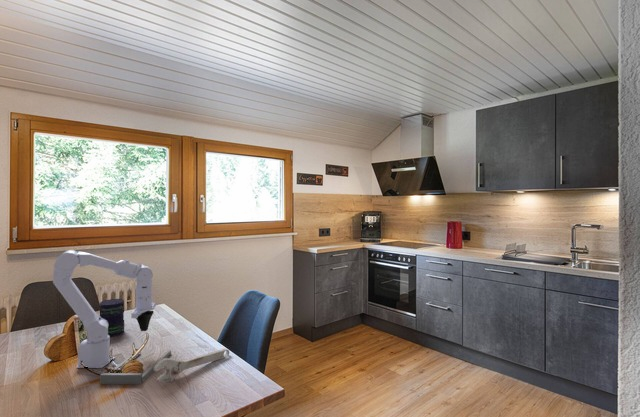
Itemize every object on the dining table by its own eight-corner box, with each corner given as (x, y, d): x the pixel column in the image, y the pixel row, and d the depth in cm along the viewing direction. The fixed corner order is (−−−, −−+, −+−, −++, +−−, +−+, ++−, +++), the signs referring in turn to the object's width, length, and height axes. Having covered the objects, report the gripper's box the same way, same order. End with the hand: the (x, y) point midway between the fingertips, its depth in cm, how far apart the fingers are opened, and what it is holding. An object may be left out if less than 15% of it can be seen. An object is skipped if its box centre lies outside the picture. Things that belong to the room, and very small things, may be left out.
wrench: (228, 363, 132) (154, 388, 107) (225, 362, 133) (151, 386, 109) (230, 342, 132) (157, 362, 108) (227, 341, 134) (154, 360, 109)
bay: (100, 383, 111) (100, 374, 111) (137, 353, 133) (137, 346, 133) (140, 384, 111) (140, 375, 111) (170, 353, 133) (170, 346, 133)
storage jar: (94, 336, 152) (94, 303, 152) (114, 328, 161) (114, 297, 161) (109, 339, 148) (109, 305, 148) (129, 331, 157) (129, 300, 157)
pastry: (142, 379, 114) (142, 368, 114) (119, 384, 111) (119, 373, 111) (143, 367, 122) (143, 357, 122) (122, 372, 119) (121, 361, 119)
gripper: (144, 301, 126) (144, 337, 126) (162, 291, 140) (162, 324, 141) (125, 301, 126) (125, 337, 126) (146, 291, 141) (146, 324, 141)
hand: (144, 330), depth 133 cm, fingers closed
